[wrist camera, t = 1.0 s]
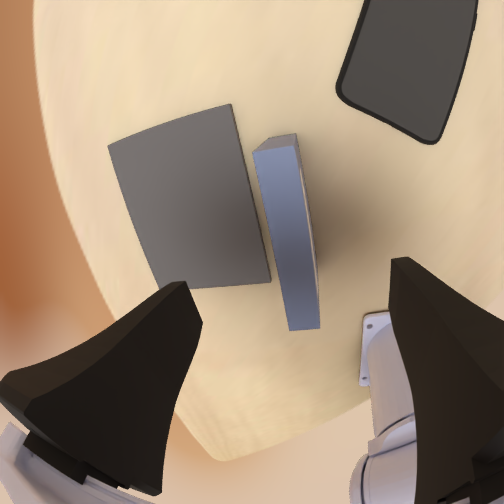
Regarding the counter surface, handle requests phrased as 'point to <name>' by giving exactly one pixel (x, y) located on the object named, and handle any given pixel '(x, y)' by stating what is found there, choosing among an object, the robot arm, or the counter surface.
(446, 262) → the counter surface
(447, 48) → the smartphone
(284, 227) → the block
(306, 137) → the counter surface
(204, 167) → the mat
